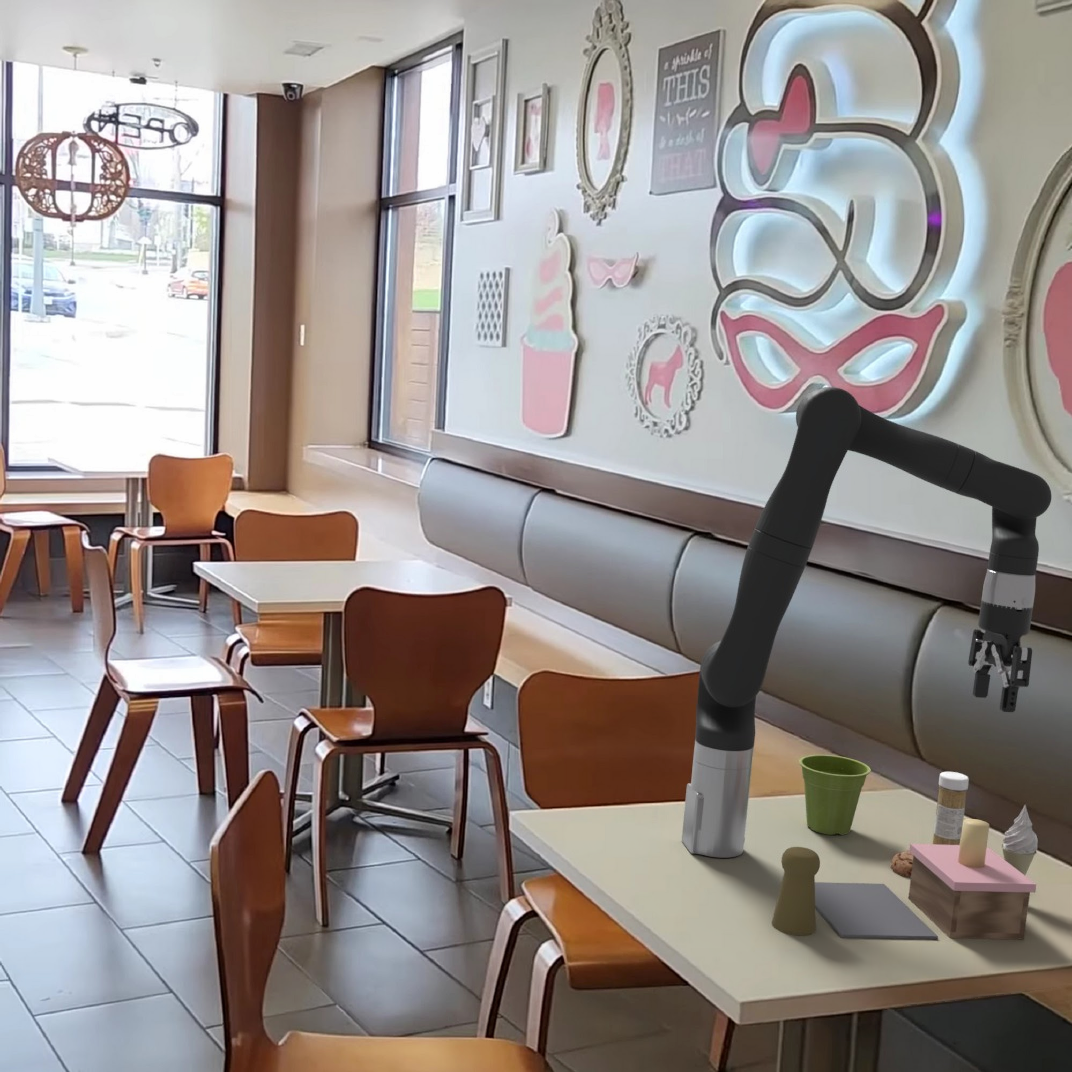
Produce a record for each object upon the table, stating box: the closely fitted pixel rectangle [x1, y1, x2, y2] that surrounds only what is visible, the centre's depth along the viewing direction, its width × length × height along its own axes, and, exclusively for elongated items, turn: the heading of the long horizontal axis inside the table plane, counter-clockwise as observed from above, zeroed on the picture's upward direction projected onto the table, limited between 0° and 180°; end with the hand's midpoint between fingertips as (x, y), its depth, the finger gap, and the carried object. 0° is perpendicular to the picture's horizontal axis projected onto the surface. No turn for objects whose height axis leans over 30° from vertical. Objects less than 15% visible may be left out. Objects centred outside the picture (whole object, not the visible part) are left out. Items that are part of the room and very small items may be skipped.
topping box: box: [908, 856, 1031, 940], centre depth 199 cm, size 11×14×7 cm
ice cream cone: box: [1000, 804, 1039, 876], centre depth 207 cm, size 5×5×15 cm
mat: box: [815, 881, 939, 940], centre depth 199 cm, size 14×19×1 cm
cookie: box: [890, 850, 914, 878], centre depth 217 cm, size 10×11×3 cm
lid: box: [908, 818, 1037, 893], centre depth 198 cm, size 12×15×8 cm
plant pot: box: [798, 754, 872, 836], centre depth 234 cm, size 12×12×11 cm
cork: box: [771, 846, 821, 936], centre depth 191 cm, size 6×6×11 cm
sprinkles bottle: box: [932, 771, 970, 845], centre depth 225 cm, size 5×5×14 cm
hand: (993, 704), depth 214 cm, fingers open, 8 cm apart
